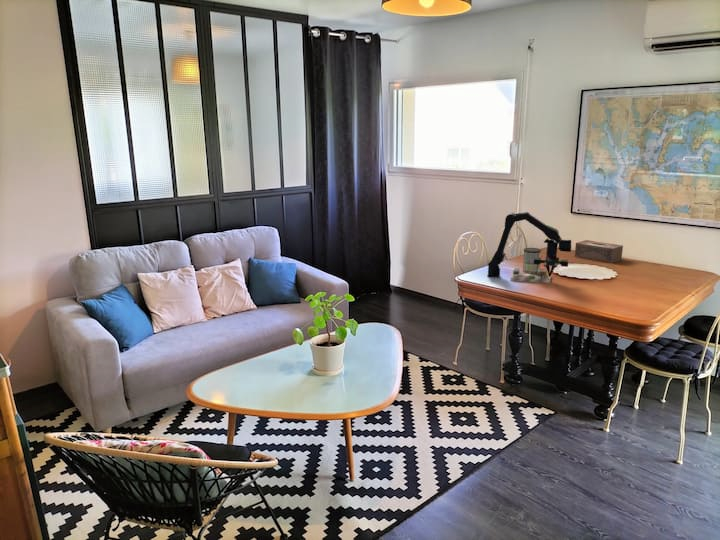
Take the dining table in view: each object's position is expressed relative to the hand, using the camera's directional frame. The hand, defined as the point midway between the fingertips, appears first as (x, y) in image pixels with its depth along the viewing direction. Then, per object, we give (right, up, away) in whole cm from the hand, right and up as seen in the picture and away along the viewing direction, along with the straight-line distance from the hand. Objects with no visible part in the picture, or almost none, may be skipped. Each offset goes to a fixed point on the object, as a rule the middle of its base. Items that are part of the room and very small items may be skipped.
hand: (549, 276), depth 303 cm
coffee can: (-3, +3, +23) cm, 23 cm away
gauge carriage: (-6, -1, +2) cm, 6 cm away
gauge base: (-9, -2, +5) cm, 11 cm away
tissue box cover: (+52, +12, +52) cm, 75 cm away
